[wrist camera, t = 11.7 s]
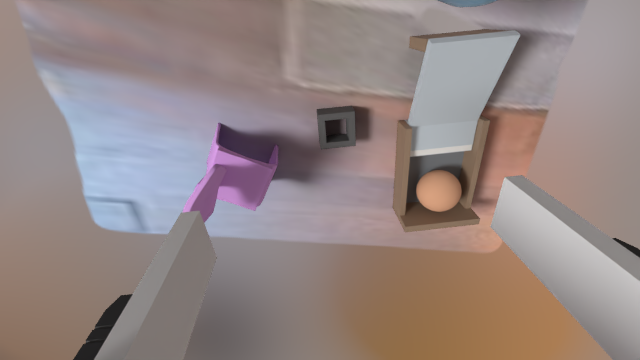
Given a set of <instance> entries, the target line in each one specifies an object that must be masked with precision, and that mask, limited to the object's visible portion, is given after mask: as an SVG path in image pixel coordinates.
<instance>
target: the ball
mask: <svg viewBox="0 0 640 360" xmlns="http://www.w3.org/2000/svg"><path fill="white" fill-rule="evenodd" d="M416 193H417V197H418V199H419V201H420V203H421V204H422V205H423V206H424V207H426V208H427V209H429V210H432V211H437V212H442V211H447V210H449V209H451V208H453V207H454V206H455V205H456V204H457V203H458V202H459V200H460V197H461V193H462V189H461V185H460V182H459V181H458V179H457V178H456V177H455V176H454V175H453V174H451V173H450V172H447V171H444V170H433V171H430V172H428V173H426V174H425V175H423V176H422V177H421V178H420V180H419V182H418V184H417V188H416Z"/></svg>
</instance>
